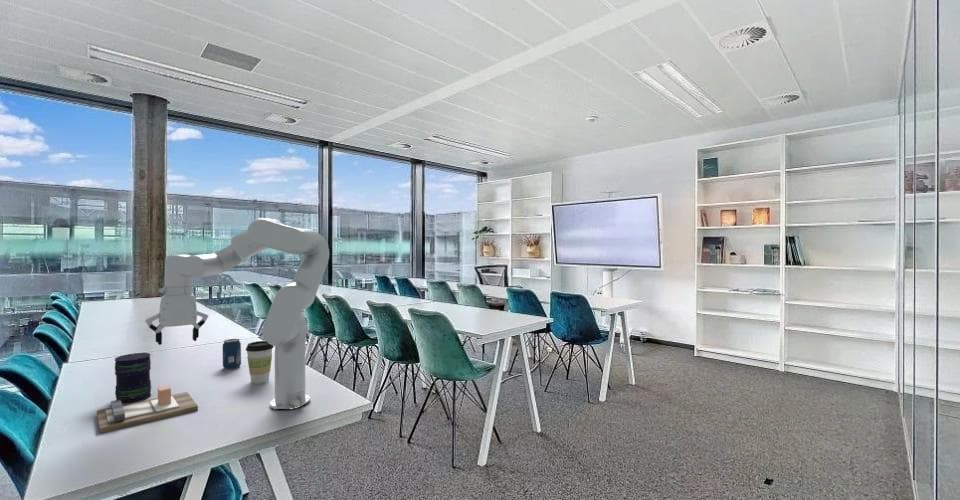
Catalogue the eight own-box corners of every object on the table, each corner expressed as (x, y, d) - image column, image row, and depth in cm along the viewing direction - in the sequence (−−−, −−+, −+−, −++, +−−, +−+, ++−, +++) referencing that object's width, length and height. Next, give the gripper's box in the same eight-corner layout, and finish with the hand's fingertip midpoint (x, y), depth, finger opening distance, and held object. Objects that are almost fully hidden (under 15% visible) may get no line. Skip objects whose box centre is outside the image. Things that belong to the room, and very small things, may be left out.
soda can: (223, 366, 188) (223, 339, 188) (241, 364, 191) (241, 337, 191) (221, 370, 182) (221, 342, 182) (240, 368, 185) (240, 341, 185)
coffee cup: (253, 387, 162) (252, 347, 161) (241, 381, 168) (240, 344, 167) (278, 380, 169) (278, 342, 169) (266, 375, 175) (266, 339, 175)
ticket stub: (178, 407, 138) (178, 390, 138) (155, 412, 134) (155, 395, 134) (172, 397, 147) (172, 381, 147) (150, 401, 143) (150, 385, 143)
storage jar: (156, 396, 152) (155, 355, 151) (122, 406, 143) (121, 361, 143) (143, 391, 157) (143, 351, 156) (110, 400, 148) (109, 357, 148)
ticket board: (198, 410, 140) (197, 398, 139) (99, 433, 123) (99, 420, 123) (187, 395, 152) (186, 385, 152) (96, 415, 136) (96, 402, 136)
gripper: (147, 294, 134) (146, 348, 135) (210, 291, 146) (209, 340, 146) (144, 291, 140) (143, 343, 140) (206, 288, 151) (205, 336, 152)
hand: (177, 342), depth 143 cm, fingers open, 9 cm apart
